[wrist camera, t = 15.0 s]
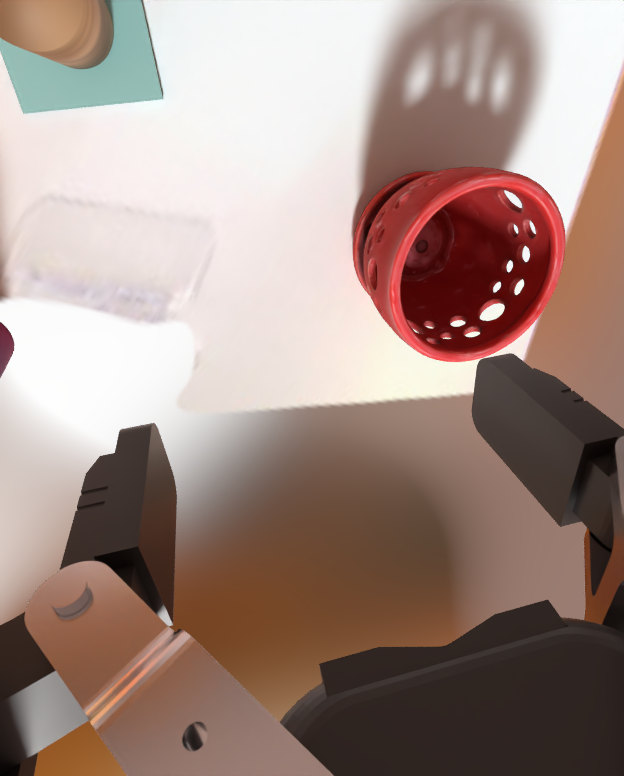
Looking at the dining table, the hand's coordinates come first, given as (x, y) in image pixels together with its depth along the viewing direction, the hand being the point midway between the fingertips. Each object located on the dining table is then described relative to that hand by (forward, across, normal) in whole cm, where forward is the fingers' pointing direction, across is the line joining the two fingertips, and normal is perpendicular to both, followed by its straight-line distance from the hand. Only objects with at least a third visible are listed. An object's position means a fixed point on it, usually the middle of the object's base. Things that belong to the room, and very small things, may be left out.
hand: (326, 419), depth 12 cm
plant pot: (+30, -15, +5) cm, 34 cm away
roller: (+30, +8, -11) cm, 33 cm away
